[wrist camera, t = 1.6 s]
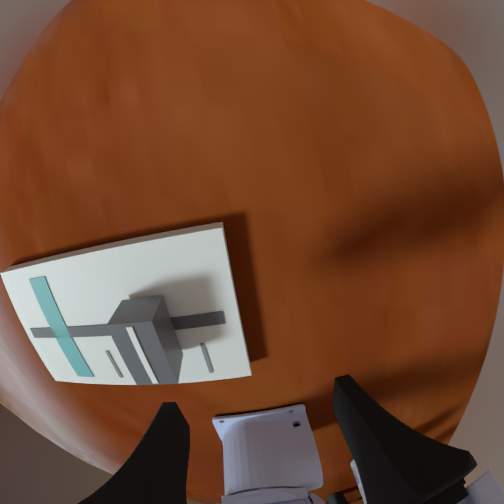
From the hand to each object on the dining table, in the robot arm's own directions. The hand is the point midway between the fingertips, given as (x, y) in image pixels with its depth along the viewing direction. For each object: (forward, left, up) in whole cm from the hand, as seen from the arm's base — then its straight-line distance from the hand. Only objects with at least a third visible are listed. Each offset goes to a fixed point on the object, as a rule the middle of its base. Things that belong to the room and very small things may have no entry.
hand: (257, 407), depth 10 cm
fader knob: (+7, 0, -8) cm, 10 cm away
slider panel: (+11, 0, -9) cm, 14 cm away
